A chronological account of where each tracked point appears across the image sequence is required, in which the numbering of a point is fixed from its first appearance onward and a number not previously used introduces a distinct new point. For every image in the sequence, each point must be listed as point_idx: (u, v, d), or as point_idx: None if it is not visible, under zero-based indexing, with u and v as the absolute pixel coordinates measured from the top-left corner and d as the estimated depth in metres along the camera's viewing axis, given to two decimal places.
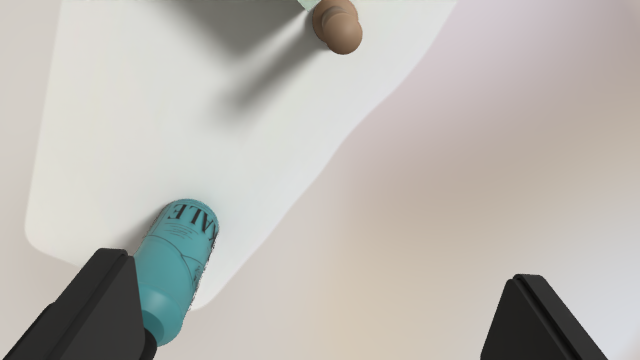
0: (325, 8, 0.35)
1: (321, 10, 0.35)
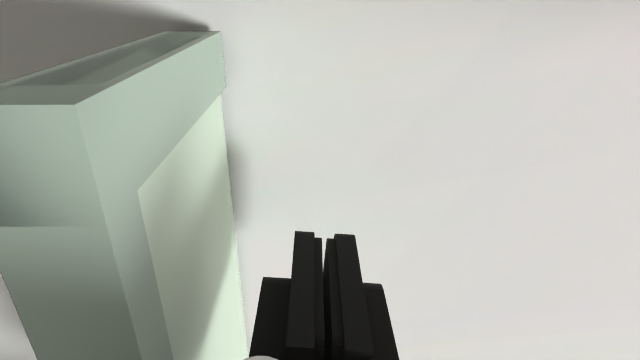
0: None
1: None
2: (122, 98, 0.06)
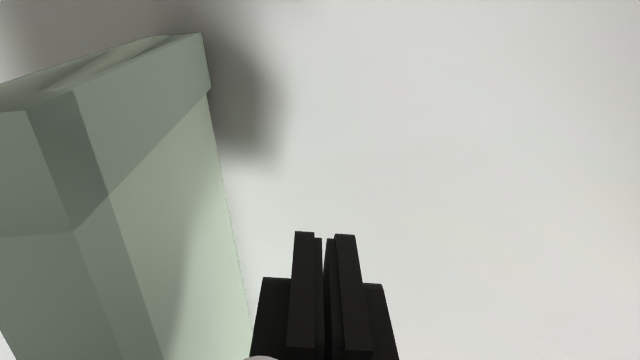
0: None
1: None
2: (83, 102, 0.06)
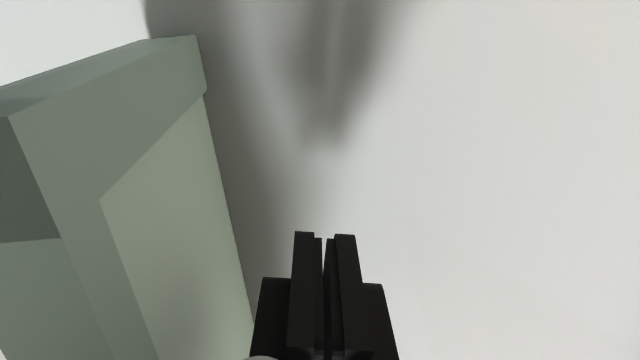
0: None
1: None
2: (70, 107, 0.06)
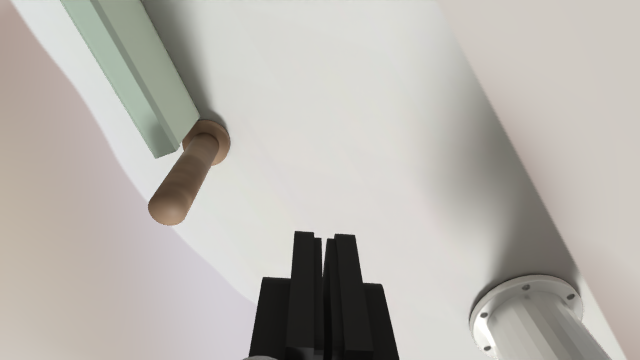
0: (220, 142, 0.36)
1: (219, 138, 0.36)
2: None
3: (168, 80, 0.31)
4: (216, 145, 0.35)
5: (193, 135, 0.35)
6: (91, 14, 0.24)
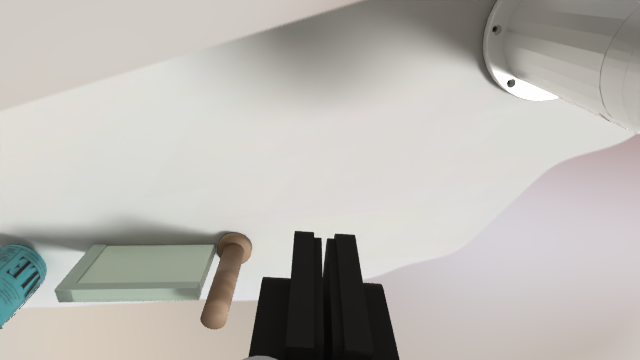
0: (234, 242, 0.48)
1: (231, 240, 0.48)
2: (62, 282, 0.42)
3: (175, 257, 0.47)
4: (232, 247, 0.47)
5: None
6: (103, 292, 0.42)
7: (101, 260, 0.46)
